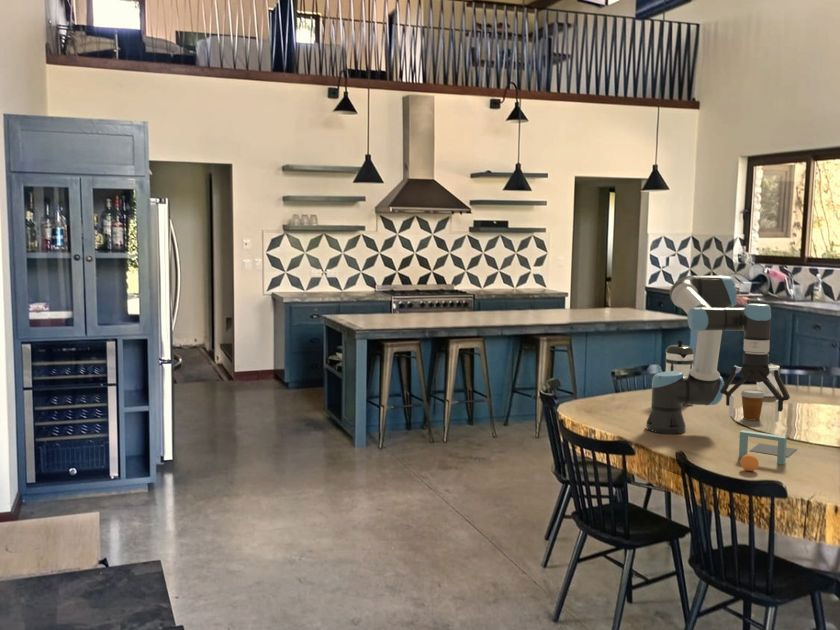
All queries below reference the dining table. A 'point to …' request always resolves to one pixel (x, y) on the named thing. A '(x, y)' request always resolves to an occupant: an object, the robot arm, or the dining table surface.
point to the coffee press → (679, 358)
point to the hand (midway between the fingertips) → (753, 418)
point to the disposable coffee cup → (752, 403)
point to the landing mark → (771, 449)
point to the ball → (749, 462)
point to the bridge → (781, 439)
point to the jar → (763, 387)
